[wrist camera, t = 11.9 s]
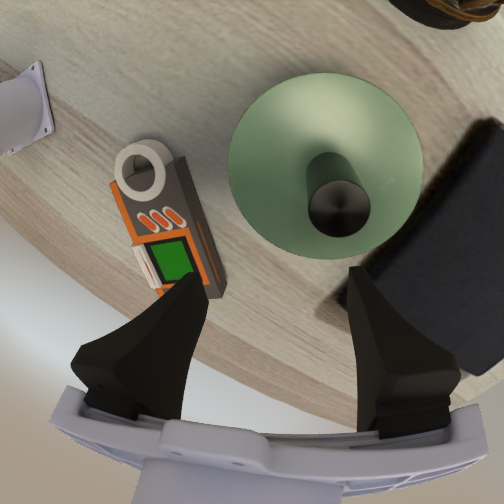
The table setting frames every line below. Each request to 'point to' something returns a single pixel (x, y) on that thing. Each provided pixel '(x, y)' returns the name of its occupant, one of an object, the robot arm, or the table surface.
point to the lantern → (448, 11)
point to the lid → (325, 165)
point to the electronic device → (165, 219)
